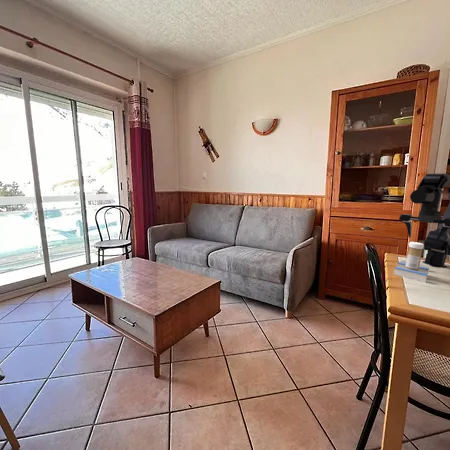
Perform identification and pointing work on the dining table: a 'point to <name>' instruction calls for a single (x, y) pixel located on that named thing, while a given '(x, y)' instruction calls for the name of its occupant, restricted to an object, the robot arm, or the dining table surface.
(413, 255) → the sprinkles bottle
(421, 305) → the dining table surface
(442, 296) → the dining table surface
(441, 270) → the dining table surface
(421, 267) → the rail comb
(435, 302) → the dining table surface
